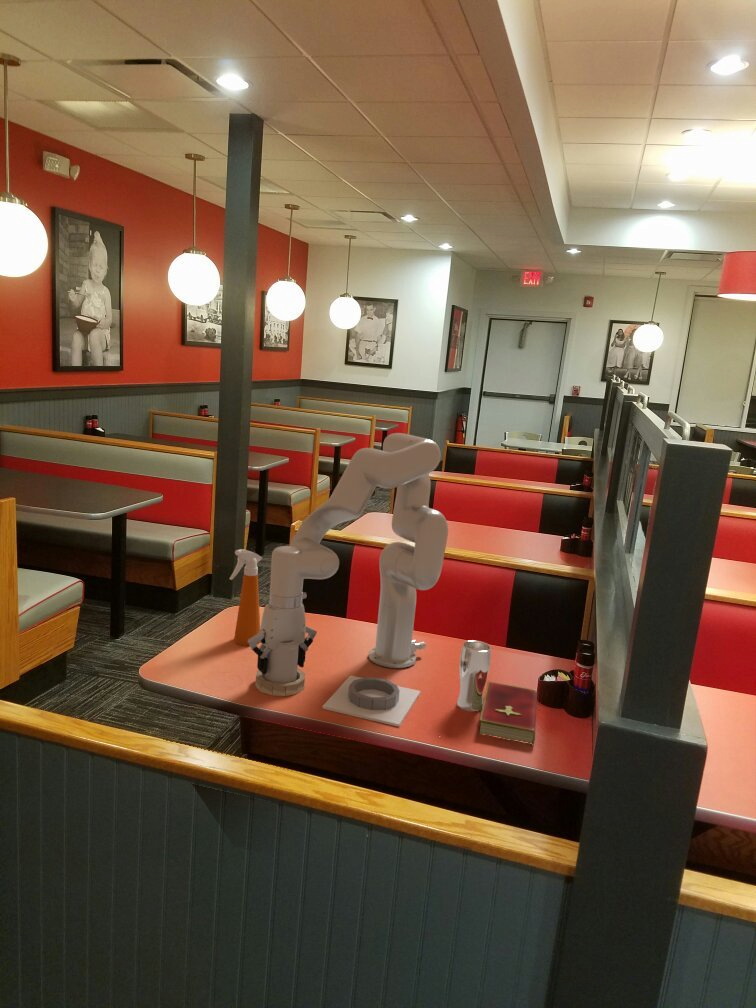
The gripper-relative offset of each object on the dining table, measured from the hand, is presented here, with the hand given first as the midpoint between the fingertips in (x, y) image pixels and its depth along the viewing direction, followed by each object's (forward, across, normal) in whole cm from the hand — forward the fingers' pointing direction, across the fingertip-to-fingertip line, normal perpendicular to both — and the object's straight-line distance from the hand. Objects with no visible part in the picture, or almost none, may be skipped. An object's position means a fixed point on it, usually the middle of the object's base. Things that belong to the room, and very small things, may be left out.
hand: (281, 668), depth 172 cm
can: (+4, 0, 0) cm, 4 cm away
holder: (+4, -16, +16) cm, 23 cm away
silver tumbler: (+4, -36, +28) cm, 45 cm away
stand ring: (+4, 0, 0) cm, 4 cm away
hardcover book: (+5, -40, +36) cm, 54 cm away
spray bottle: (+4, -2, -27) cm, 27 cm away
